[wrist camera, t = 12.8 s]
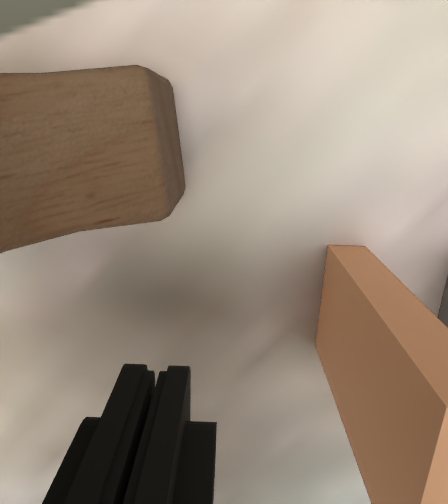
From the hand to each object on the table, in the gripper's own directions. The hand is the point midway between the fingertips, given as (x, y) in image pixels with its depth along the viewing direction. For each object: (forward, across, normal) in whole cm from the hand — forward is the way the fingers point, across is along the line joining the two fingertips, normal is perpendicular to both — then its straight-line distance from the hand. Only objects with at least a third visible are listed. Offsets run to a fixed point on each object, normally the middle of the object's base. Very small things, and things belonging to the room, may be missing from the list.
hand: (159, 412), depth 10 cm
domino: (+8, -7, 0) cm, 10 cm away
